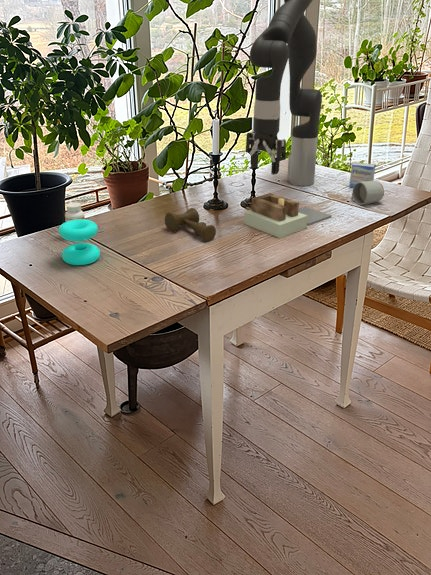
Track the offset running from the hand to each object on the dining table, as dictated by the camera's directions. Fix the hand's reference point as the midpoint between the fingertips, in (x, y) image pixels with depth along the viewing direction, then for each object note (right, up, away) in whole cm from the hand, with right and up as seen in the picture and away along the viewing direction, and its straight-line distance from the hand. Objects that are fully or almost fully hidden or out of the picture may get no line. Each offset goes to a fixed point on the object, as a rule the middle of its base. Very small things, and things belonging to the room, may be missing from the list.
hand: (264, 170), depth 175 cm
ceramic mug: (+36, -6, +24) cm, 44 cm away
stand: (+4, -16, +4) cm, 17 cm away
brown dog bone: (-22, -19, 0) cm, 29 cm away
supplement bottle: (-55, -20, -4) cm, 59 cm away
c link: (+3, -12, +2) cm, 13 cm away
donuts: (-51, -28, -18) cm, 60 cm away
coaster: (+14, -12, +11) cm, 22 cm away
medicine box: (+38, +1, +38) cm, 54 cm away
